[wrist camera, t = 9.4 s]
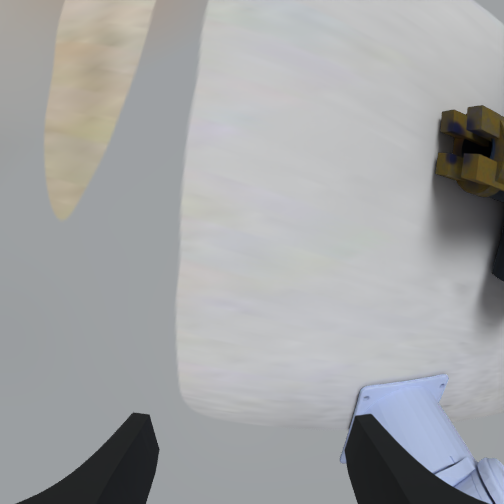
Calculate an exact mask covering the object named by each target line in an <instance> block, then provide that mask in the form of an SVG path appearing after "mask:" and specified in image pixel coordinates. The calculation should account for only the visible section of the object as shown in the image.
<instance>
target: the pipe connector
mask: <svg viewBox="0 0 504 504" xmlns="http://www.w3.org/2000/svg"><path fill="white" fill-rule="evenodd" d="M440 132H442V133H445V134H447V135H450V136H452V137H454V147H453V154H452V153H438V158H437V165H436V172H435V174H437V175H441V176H444V177H447V178H450V179H453V180H456V181H457V183H458V185H459V186H460V187H461V188H462V189H463V190H464V191H466V192H468V193H471V194H474V195H477V196H480V197H490V198H493V199H496V200H499V201H501V202H504V117H503V116H501V115H500V114H498V113H496V112H494V111H492V110H491V109H489V108H487V107H485V106H483V105H481V106H474V107H468V111H467V114H466V115H465V114H463V113H461V112H458V111H456V110H449V111H443V112H442V119H441V131H440ZM492 274H493V275H494V276H496V277H497V278H499V279H500V280H502V281H504V226H503V231H502V235H501V240H500V244H499V248H498V252H497V256H496V260H495V263H494V267H493V270H492Z"/></svg>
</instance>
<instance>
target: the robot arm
mask: <svg viewBox="0 0 504 504" xmlns="http://www.w3.org/2000/svg"><path fill="white" fill-rule="evenodd" d="M448 379H449V378H448V376H447V375H446V374H442V375H437V376H431V377H426V378H420V379H414V380H408V381H401V382H394V383H387V384H379V385H371V386H365V387H363V388H362V389H361V391H360V394H359V397H358V401H357V405H356V408H355V412H354V415H353V419H352V422H351V426H350V429H349V433H348V436H347V438H346V442H345V445H344V448H343V451H342V454H341V457H340V462H341V463H347V468H348V474H349V477H350V480H351V484H352V487H353V490H354V493H355V496H356V500H357V502H358V504H504V466H503V464H502V463H501V462H500V461H499V460H498V459H496V458H483V459H482V460H481V461H480V462H477V461H476V460H475V459H474V457H473V456H472V454H471V452H470V451H469V449H468V448H467V446H466V444H465V443H464V441H463V440H462V438H461V436H460V435H459V433H458V432H457V430H456V429H455V427H454V426H453V424H452V422H451V421H450V419H449V418H448V416H447V415H446V413H445V412H444V410H443V409H442V407H441V406H440V404H439V401H440V399H441V397H442V394H443V392H444V389H445V387H446V384H447V382H448ZM366 396H367V397H366ZM364 397H366V398H364ZM158 454H159V447H158V443H157V440H156V437H155V433H154V429H153V426H152V422H151V419H150V415H148V414H140V413H133V414H131V415H130V416H129V418H128V419H127V420H126V421H125V422H124V423H123V424H122V425H121V427H120V428H119V429H118V430H117V431H116V432H115V433H114V434H113V435H112V436H111V437H110V439H109V440H107V442H106V443H104V445H103V446H102V447H101V448H100V449H99V450H98V451H96V452H95V453H94V454H93V455H92V456H91V457H90V458H89V459H88V460H87V461H85V462H84V463H83V464H82V465H81V466H80V467H78V468H77V469H76V470H75V471H74V472H72V473H71V474H69V475H68V476H67V477H65V478H64V479H63V480H61V481H59V482H58V483H56V484H55V485H53V486H51V487H50V488H48V489H46V490H45V491H43V492H41V493H39V494H37V495H35V496H33V497H30V498H28V499H26V500H24V501H22V502H19V503H17V504H146V501H147V498H148V495H149V492H150V489H151V485H152V482H153V479H154V475H155V472H156V466H157V460H158Z"/></svg>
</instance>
